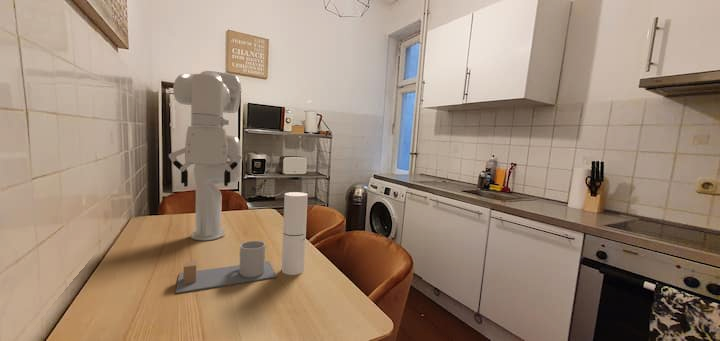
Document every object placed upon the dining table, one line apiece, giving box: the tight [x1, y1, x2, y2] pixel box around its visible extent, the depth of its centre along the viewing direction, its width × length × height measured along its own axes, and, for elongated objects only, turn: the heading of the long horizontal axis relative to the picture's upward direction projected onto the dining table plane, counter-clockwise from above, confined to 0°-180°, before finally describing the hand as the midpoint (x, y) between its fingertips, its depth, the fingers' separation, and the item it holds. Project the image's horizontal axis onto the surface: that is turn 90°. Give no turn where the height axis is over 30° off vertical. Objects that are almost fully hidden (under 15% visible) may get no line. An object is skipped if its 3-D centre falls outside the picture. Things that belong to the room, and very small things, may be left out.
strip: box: [175, 259, 278, 295], centre depth 87 cm, size 12×26×5 cm, turn 118°
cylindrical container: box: [281, 191, 308, 276], centre depth 93 cm, size 7×7×25 cm
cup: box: [239, 240, 266, 278], centre depth 89 cm, size 7×10×9 cm
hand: (206, 185), depth 79 cm, fingers open, 9 cm apart
